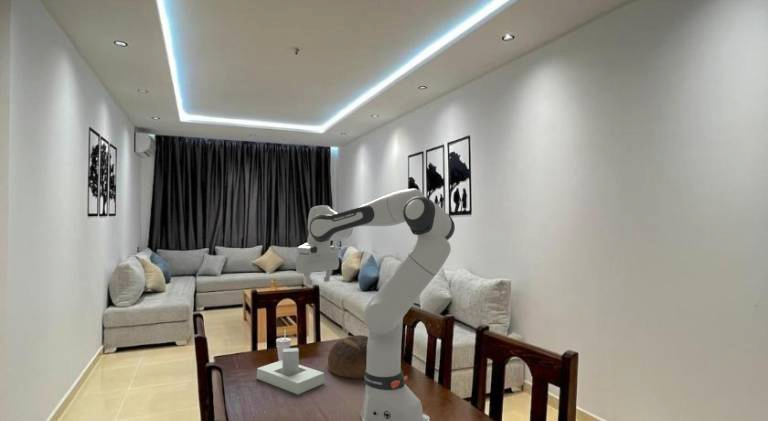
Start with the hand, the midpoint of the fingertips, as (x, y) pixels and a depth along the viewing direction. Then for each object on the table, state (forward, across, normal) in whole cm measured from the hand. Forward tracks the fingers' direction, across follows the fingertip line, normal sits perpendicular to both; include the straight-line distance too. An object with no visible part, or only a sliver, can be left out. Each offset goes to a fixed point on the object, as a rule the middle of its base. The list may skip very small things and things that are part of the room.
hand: (318, 283), depth 170 cm
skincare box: (+37, +8, -6) cm, 39 cm away
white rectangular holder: (+37, +8, -6) cm, 38 cm away
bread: (+38, -19, +6) cm, 43 cm away
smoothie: (+37, -4, -24) cm, 44 cm away
